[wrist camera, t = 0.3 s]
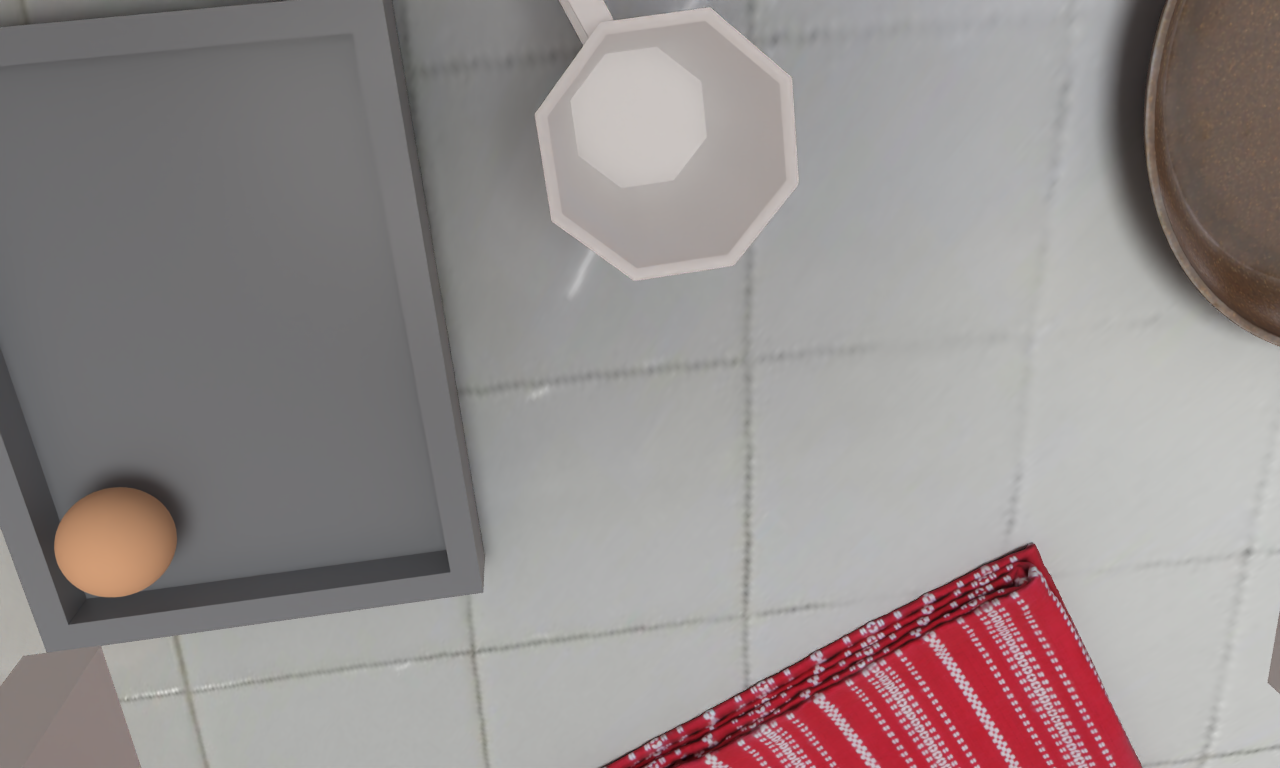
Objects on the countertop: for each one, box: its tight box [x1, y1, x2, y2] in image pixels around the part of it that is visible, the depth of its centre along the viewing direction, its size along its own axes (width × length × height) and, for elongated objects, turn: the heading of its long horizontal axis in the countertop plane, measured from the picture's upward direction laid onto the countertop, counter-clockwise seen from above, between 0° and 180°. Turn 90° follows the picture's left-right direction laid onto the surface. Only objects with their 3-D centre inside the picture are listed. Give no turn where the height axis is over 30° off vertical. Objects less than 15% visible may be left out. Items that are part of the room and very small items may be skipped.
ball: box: [54, 487, 177, 597], centre depth 33 cm, size 4×4×4 cm
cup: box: [535, 0, 799, 281], centre depth 29 cm, size 7×10×8 cm
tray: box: [0, 0, 485, 653], centre depth 33 cm, size 20×15×2 cm
